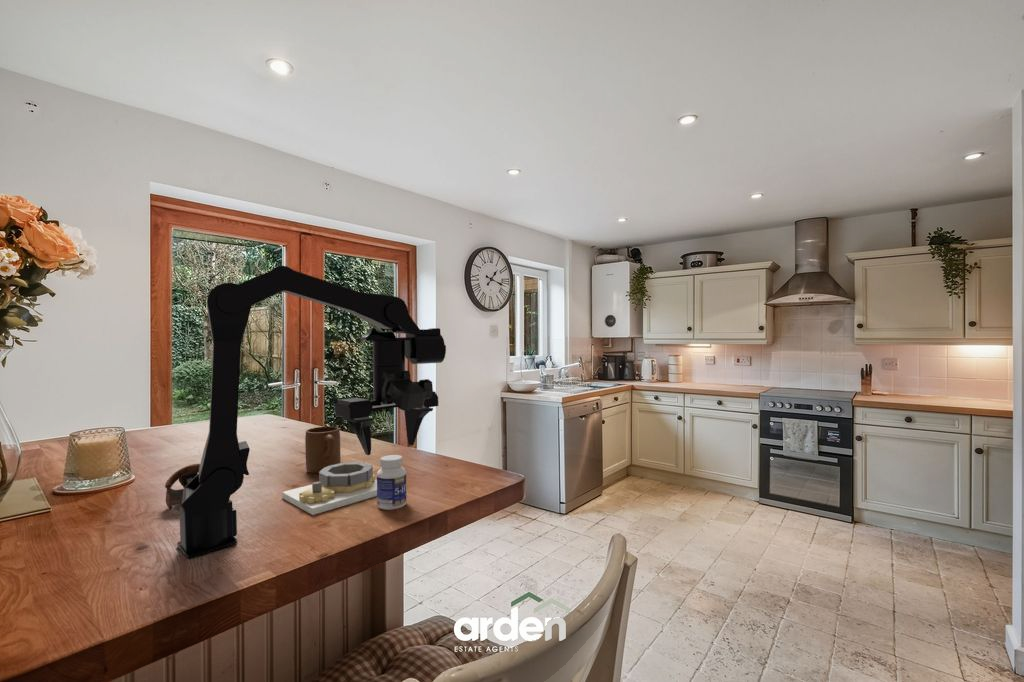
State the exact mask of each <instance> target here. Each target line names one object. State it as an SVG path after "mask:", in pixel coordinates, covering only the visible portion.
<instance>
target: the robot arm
mask: <svg viewBox="0 0 1024 682" xmlns="http://www.w3.org/2000/svg"><path fill="white" fill-rule="evenodd" d="M279 293H283V294H284V293H285V294H287V295H291V296H294V297H298V298H301V299H305V300H308V301H311V302H315V303H318V304H321V305H325V306H328V307H332V308H335V309H338V310H341V311H344V312H347V313H349V314H353V315H354V316H356V317H357V318H359V319H361V320H362V321H364V322H366V323H368V324H370V325H372V326H373V327H369V329H368V330H367V332H366V333H364V334H363V335H362V336H360V341H363V342H372V370H369V371H368V374H369V377H371V378H372V379H373V380H372V381H373V382H372V384H373V385H372V387H373V388H372V389H373V392H370V393H369V399H366V398H361V397H352V398H341V399H339V400H338V401H337V402H336V404H335V406H334V414H335V415H334V416H336V417H339V418H342V421H347V422H348V423H349V425H350V427H351V428H352V429H353V431H354V433H355V435H356V437H357V439H358V442H359V443H360V445H361V447H362V449H363V452H364V454H365V455H367V456H371V454H372V435H371V433H372V431H371V426H372V424H373V422H374V419H375V418H374V417H370V415H371V414H372V413H373V411H380V410H387V409H393V408H398V409H399V410H401V411H403V412H404V419H405V429H406V430H405V431H406V437H407V442H408V445H409V446H414V445H415V442H416V439H417V436H418V434H419V433H418V432H419V431H420V427H421V425H422V422H423V420H424V418H425V417H426V415H428V414H429V413H430V412H433V410H434V408H433V407H439V396H438V394H437V392H436V391H434V390H433V381H431V380H430V379H428V378H425V379H419V380H418V381H412V380H411V373H410V370H406V359H407V360H409V362H410V364H412V365H422V364H423V365H424V364H441V363H443V362H444V360H445V358H446V353H447V346H446V344H445V340H444V337H443V335H442V334H441V328H440V327H439V328H438V327H434V328H427V329H420V328H419V326H418V325H417V323H416V322H415V321H414V319H413V318H412V316H411V314H409V307H408V306H407V304H406V302H405V301H404V299H402V298H401V297H398V296H395V295H394V296H392V295H387V294H380V293H372V292H371V293H369V292H362V291H358V290H355V289H352V288H349V287H346V286H342V285H341V284H337V283H334V282H330V281H327V280H325V279H321V278H319V277H316V276H312V275H310V274H306V273H303V272H300V271H297V270H295V269H292V268H291V267H289V266H287V265H277V266H275V267H274V268H271V270H270V271H267V272H265V273H264V272H263V273H262V274H260V275H257V276H255V277H252V278H250V279H247V280H245V281H243V282H240V283H238V284H237V283H233V282H223V283H220V284H218V285H216V286H214V287H213V288H212V289H211V290H210V292H209V293H208V296H207V298H206V309H207V316H208V317H207V318H208V323H209V328H210V334H211V339H212V362H211V365H212V366H211V385H210V386H211V387H210V405H209V407H210V408H209V426H208V427H209V428H208V433H207V438H206V442H205V444H204V445H205V446H204V448H203V452H202V455H201V460H200V463H199V464H200V467H199V473H198V474H197V475H196V476H195V477H194V478H193V479H192V480H191V481H190V482H189V483H188V484H187V485H186V486H185V487H184V488H182V489H183V500H182V504H181V507H179V536H180V539H179V541H178V542H177V543H176V545H177V546H176V547H177V548H178V549H179V550H180V551H181V552H182V554H183V555H185V557H186V558H188V559H191V558H195V557H198V556H201V555H204V554H208V553H211V552H215V551H217V550H220V549H224V548H228V547H230V546H234V545H236V544H238V539H237V538H236V536H237V535H238V526H237V525H238V520H237V517H238V516H237V509H235V508H234V507H233V501H232V500H231V499H230V498H231V496H232V495H233V494H235V493H236V492H238V490H239V489H240V488H241V487H242V485H243V484H244V479H245V478H244V475H246V476H249V475H250V472H249V470H248V466H247V464H248V459H249V454H250V447H249V444H248V442H247V441H246V440H245V441H244V440H243V441H240V442H239V439H238V416H239V415H238V414H239V413H238V412H239V395H240V394H239V391H240V390H239V388H240V373H241V372H240V370H241V369H240V368H241V346H242V342H243V339H244V335H245V331H246V328H247V326H248V325H247V324H248V322H249V321H248V320H249V316H250V313H251V310H252V306H254V305H256V304H258V303H260V302H262V301H264V300H266V299H268V298H271V297H273V296H275V295H277V294H279ZM375 327H376V328H379V329H388V330H389V331H378V330H377V329H376V328H375ZM396 334H404V335H405V337H404V336H403V337H396Z"/></svg>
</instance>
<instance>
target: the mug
mask: <svg viewBox="0 0 1024 682" xmlns="http://www.w3.org/2000/svg"><path fill="white" fill-rule="evenodd" d="M340 433H341V431H340V427H338V426H317V427H313V428H309V429H307V430H305V437H304V438H305V439H304V441H305V469H306V471H307V473H310V474H319V472H320V471H321V470H322V469H323V468H324V467H327V466H331V465H335V464H339V463H342V462H341V461H342V460H341V434H340Z"/></svg>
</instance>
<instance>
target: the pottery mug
mask: <svg viewBox="0 0 1024 682" xmlns="http://www.w3.org/2000/svg"><path fill="white" fill-rule="evenodd" d="M199 467H200V463H193V464H189V465H187V466H184V467H182V468H180V469H179V470H177V471H175V472H174V473H173V474H172V475H171V476H170V477H169V478H168V479H167V480H166V482H165V483H164V488H165V489H166V491H165V494H166V495H165V504H166V505H167V509H169V510H173V506H176V505H182V500H183V489H184V487H185V486H186V485H187V484H188V483H189V482H190V481H191V480H192V479H193V478H194V477H195V476H196V475H197V474H198V473H199ZM177 481H178V482H179V483H180V485H181V486H182V488H180V489H173V488H172V487H173V485H174V484H175V483H176V482H177Z"/></svg>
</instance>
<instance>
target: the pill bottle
mask: <svg viewBox="0 0 1024 682" xmlns="http://www.w3.org/2000/svg"><path fill="white" fill-rule="evenodd" d="M379 459H380V461H379V463H380V468H379V470H378V471H377V473H376V480H377V496H376V505H377V507H378V508H379V509H381V510H386V511H391V510H399V509H401V508H403V507H404V506H405V505H406V504H407V470H406V468H405V467H402V466H403V463H404V461H403V456H402V455H400V454H389V455H388V454H387V455H385V456H381V457H380V458H379Z"/></svg>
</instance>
